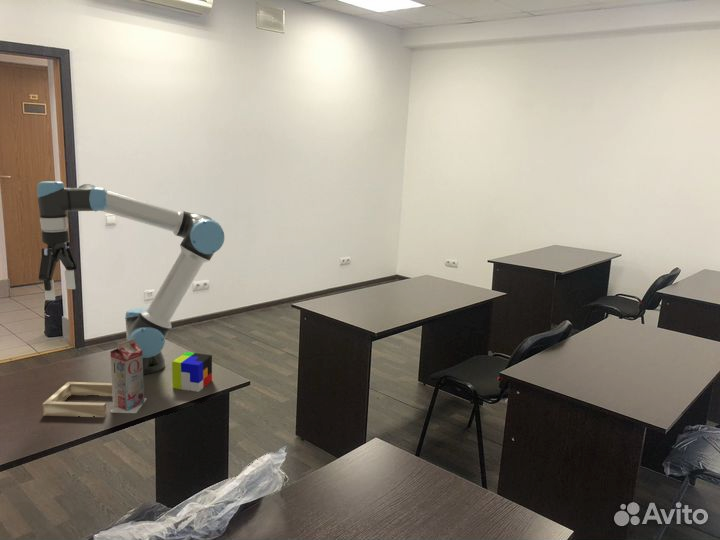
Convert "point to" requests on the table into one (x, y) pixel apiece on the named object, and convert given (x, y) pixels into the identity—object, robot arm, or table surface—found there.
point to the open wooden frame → (82, 409)
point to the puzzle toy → (192, 371)
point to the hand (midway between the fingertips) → (61, 294)
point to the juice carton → (127, 375)
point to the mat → (118, 410)
